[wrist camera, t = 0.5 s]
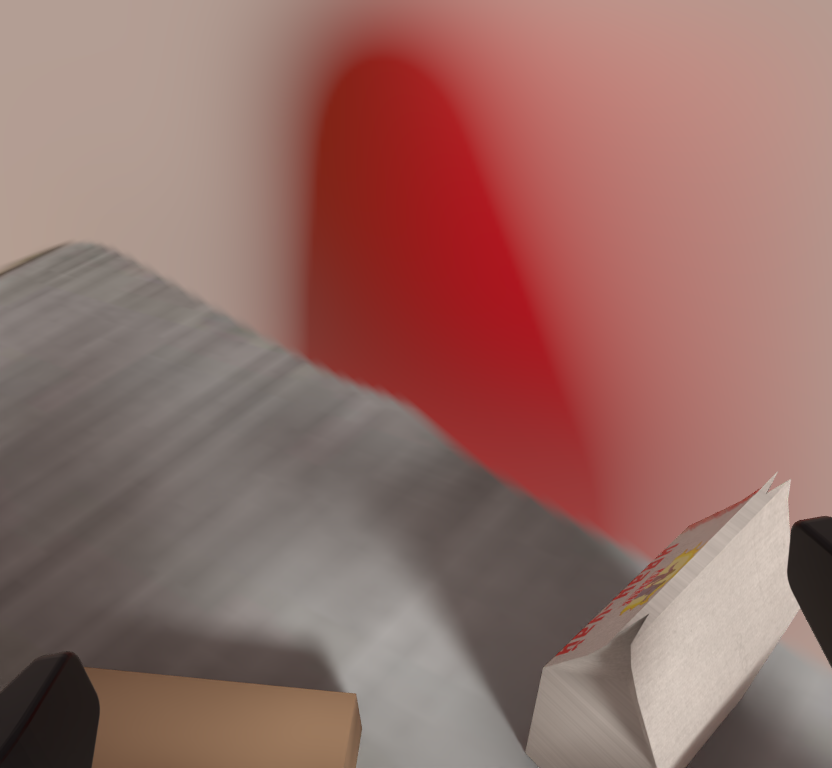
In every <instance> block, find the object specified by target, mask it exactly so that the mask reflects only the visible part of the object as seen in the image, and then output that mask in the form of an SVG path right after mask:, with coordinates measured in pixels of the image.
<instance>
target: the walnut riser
mask: <svg viewBox="0 0 832 768" xmlns="http://www.w3.org/2000/svg"><path fill="white" fill-rule="evenodd" d="M84 669H85V671H86V673H87V675H88V677H89V679H90V681H91V683H92V685H93V687H94V689H95V690H96V692H97V695H98V698H99V702H100V718H99V724H98V731H97V738H96V744H95V751H94V757H93V764H92V768H356V763H357V756H358V750H359V744H360V737H361V731H362V726H361V720H360V714H359V708H358V702H357V697H356V694H353V693H343V692H333V691H323V690H313V689H302V688H292V687H282V686H272V685H262V684H252V683H241V682H231V681H221V680H211V679H201V678H190V677H180V676H170V675H160V674H150V673H140V672H129V671H119V670H109V669H99V668H89V667H84Z"/></svg>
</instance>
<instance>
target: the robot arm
mask: <svg viewBox="0 0 832 768" xmlns="http://www.w3.org/2000/svg"><path fill="white" fill-rule="evenodd" d="M787 577H788V582H789V585H790V588H791V591H792V593H793V595H794V597H795V598H796V600H797V602H798V604H799V606H800V608H801V610H802V612H803V614H804V616H805V617H806V620H807V622H808V623H809V625H810V627H811V629H812V631H813V633H814V635H815V637H816V639H817V641H818V642H819V644H820V646H821V648H822V650H823V652H824V654H825V656H826V658H827V660H828V662H829V664H830V666H831V668H832V517H828V516H821V517H815V518H810V519H804V520H799V521H797V522H795V523H794V525H793V526H792V529H791V534H790V544H789V554H788V565H787ZM99 718H100V702H99V698H98V695H97V692H96V690H95V689H94V687H93V685H92V683H91V681H90V679H89V677H88V675H87V673H86V671H85V669H84V667H83V665H82V663H81V661H80V659H79V658H78V656H77V655H76V654H75V653H73V652H68V651H66V652H61V653H55V654H49V655H44V656H41V657H38V658H37V659H35V660H34V661H33V662H32V663H31V664H30V665H29V666H28V667H27V668H25V669H24V670H23V671H22V672H21V673H20V674H19V675H18V676H17V677H16V678H15V679H14V680H13V681H12V682H11V683H10V684H9V685H8V686H7V687H6V688H4V689H3V690H2V691H1V692H0V768H92V764H93V757H94V751H95V744H96V738H97V731H98V724H99Z"/></svg>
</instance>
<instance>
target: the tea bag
mask: <svg viewBox="0 0 832 768" xmlns="http://www.w3.org/2000/svg"><path fill="white" fill-rule="evenodd" d="M776 474H777V473H776ZM776 474H775V475H774V476H773V477H772V478H771V479H770V480H769V481H768V482H767V483H766V484H765V485H764V486H763V487H761V488H760V489H758V490H757V491H755V492H754V493H752V494H751V495H749V496H748V497H747V498H745V499H743V500H742V501H740V502H738V503H736V504H734V505H732V506H730V507H728V508H726V509H724V510H722V511H720V512H717V513H715V514H713V515H711V516H709V517H707V518H705V519H703V520H701V521H699V522H696V523H694V524H692V525H690V526H688V527H687V528H686V529H685V530H684V531H683V532H682V533H681V534H680V535H679V536H678V537H677V538H676V539H675V540H674V541H673V542H672V543H671V544H670V545H669V546H668V547H667V548H666V549H665V550H664V551H663V552H662V553H661V554H660V555H658V557H656V558H655V559H654V560H653V561H652V562H651V563H650V564H649V565H648V566H647V567H646V568H645V569H644V570H643V571H642V572H641V573H640V574H639V575H638V576H637V577H636V578H635V579H634V580H633V581H632V582H631V583H630V584H629V585H628V586H627V587H626V588H625V589H624V590H622V591H621V592H620V593H619V594H618V595H617V596H616V597H615V598H614V599H613V600H612V601H611V602H610V603H609V604H608V605H607V606H606V607H605V608H604V609H603V610H602V611H601V612H600V613H599V614H598V615H597V616H596V617H595V618H594V619H593V620H592V621H591V622H590V623H589V624H588V625H586V626H585V627H584V628H583V629H582V630H581V631H580V632H579V633H578V634H577V635H576V636H575V637H574V638H573V639H572V640H571V641H570V642H569V643H568V644H567V645H566V646H565V647H564V648H563V649H562V650H561V651H560V652H559V653H558V654H557V655H556V656H555V657H554V658H553V659H552V660H550V661H549V662H548V663H547V664H546V665H545V666H544V667H543V671H542V675H541V680H540V685H539V690H538V694H537V699H536V704H535V708H534V713H533V718H532V723H531V727H530V732H529V737H528V742H527V746H526V751H525V753H526V754H527V755H528V756H529V757H530V758H531V759H532V760H533V761H534V762H535V763H536V764H537V766H538V767H539V768H685V767H686V766H687V765H688V764H689V762H690V761H691V760H692V759H693V758H694V756H695V755H696V754H697V753H698V751H699V750H700V749H701V748H702V746H703V745H704V744H705V743H706V742H707V740H708V739H709V738H710V737H711V735H712V734H713V733H714V732H715V730H716V729H717V728H718V727H719V725H720V724H721V723H722V722H723V721H724V719H725V718H726V717H727V716H728V714H729V713H730V712H731V711H732V709H733V708H734V707H735V706H736V705H737V703H738V702H739V701H740V700H741V698H742V697H743V696H744V694H745V692H746V691H747V689H748V688H749V686H750V685H751V683H752V682H753V680H754V679H755V677H756V675H757V674H758V672H759V671H760V669H761V668H762V666H763V665H764V663H765V662H766V660H767V658H768V657H769V655H770V654H771V652H772V651H773V649H774V648H775V646H776V645H777V643H778V641H779V640H780V638H781V637H782V635H783V634H784V632H785V631H786V629H787V628H788V626H789V624H790V623H791V621H792V620H793V618H794V617H795V615H796V614H797V612H798V610H799V609H800V606H799V604H798V602H797V600H796V598H795V597H794V595H793V593H792V591H791V588H790V585H789V582H788V577H787V565H788V554H789V544H790V528H789V511H788V496H789V489H790V482H791V479H790V480H788V481H786V482H785V483H783V484H781V485H780V486H778V487H777V488H775V489H773V490H772V491H770V492H768V490H769V488H770V486H771V484H772V482H773V480H774V478H775V476H776ZM767 492H768V493H767Z"/></svg>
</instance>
